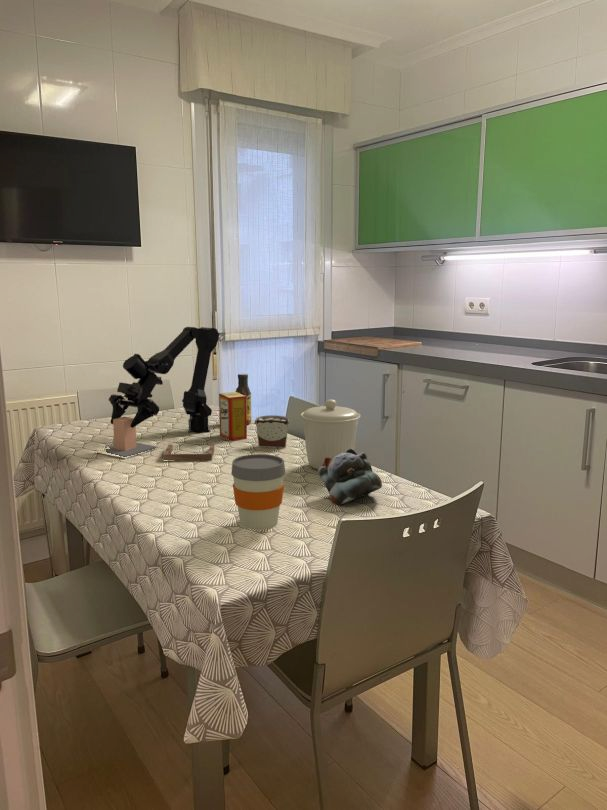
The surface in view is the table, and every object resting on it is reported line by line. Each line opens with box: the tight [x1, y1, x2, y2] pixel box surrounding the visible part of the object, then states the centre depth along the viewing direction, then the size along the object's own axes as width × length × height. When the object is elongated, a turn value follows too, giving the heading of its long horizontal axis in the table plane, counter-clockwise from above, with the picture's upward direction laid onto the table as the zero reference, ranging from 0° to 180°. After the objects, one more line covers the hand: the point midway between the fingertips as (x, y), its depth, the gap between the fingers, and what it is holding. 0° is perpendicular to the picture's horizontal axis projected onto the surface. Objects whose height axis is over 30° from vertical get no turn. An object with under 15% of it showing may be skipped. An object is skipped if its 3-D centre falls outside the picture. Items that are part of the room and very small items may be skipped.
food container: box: [254, 414, 291, 449], centre depth 214 cm, size 12×6×10 cm, turn 84°
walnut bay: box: [162, 443, 215, 462], centre depth 201 cm, size 13×15×2 cm
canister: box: [300, 399, 361, 470], centre depth 188 cm, size 18×18×21 cm
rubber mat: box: [104, 442, 157, 457], centre depth 206 cm, size 14×14×1 cm
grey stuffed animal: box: [317, 449, 383, 506], centre depth 163 cm, size 15×12×14 cm
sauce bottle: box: [235, 373, 252, 425], centre depth 245 cm, size 7×6×20 cm
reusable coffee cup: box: [231, 453, 286, 530], centre depth 145 cm, size 12×13×15 cm
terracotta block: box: [112, 416, 137, 451], centre depth 205 cm, size 5×5×10 cm
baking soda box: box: [218, 391, 248, 442], centre depth 224 cm, size 10×6×16 cm
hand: (121, 425), depth 203 cm, fingers open, 9 cm apart
